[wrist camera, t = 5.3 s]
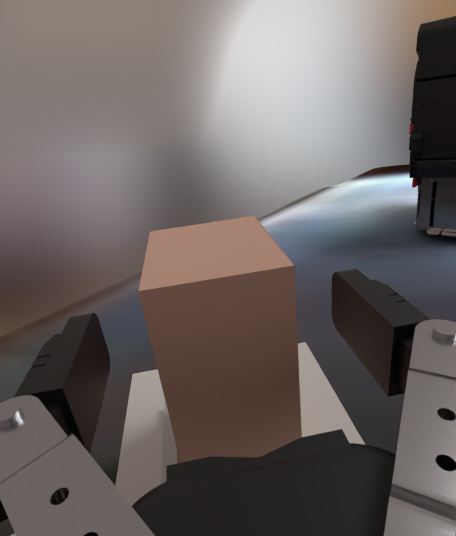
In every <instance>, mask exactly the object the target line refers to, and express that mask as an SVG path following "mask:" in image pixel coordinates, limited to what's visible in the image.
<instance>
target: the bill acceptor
mask: <svg viewBox="0 0 456 536" xmlns="http://www.w3.org/2000/svg"><path fill="white" fill-rule="evenodd" d="M416 51H417V54H418V57H419V60H418V62H417V66H416V72H415V78H414V89H413V103H412V117H411V119H410V120H411V125H410V135H411V136H410V145H409V150H411V151H410V165H409V173H410V178H413V184H412V187H416V186H418V202H417V215H416V222H415V223H414V225H416V230H427V234H429V235H439V234H440V232H442V233H441V235H442V236H453V237H456V16H454V17H450V18H446V19H441V20H437V21H433V22H429V23H424V24H421V25H420V28H419V31H418V35H417V47H416Z"/></svg>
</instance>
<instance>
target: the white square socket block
mask: <svg viewBox="0 0 456 536" xmlns="http://www.w3.org/2000/svg"><path fill="white" fill-rule="evenodd" d="M298 360H299V383H300V406H301V429H302V437H306V436H310V435H315V434H320V433H325V432H330V431H334V430H339V429H342V430H343V432H344V434H345V436H346V437H347V439H348V441H349V443H357V444H364V445H365V443H364V442H363V440H362V438H361V437H360V435H359V433H358V431H357V430H356V428H355V426H354V425H353V423H352V421H351V419H350V418H349V416H348V414H347V413H346V411H345V409H344V407H343V406H342V404H341V402H340V401H339V399H338V397H337V395H336V394H335V392H334V390H333V389H332V387H331V385H330V383H329V382H328V380H327V378H326V377H325V375H324V373H323V371H322V370H321V368H320V366H319V365H318V363H317V361H316V359H315V358H314V356H313V354H312V353H311V351H310V349H309V347H308V346H307V344H306V342H304V343H298ZM177 463H180V459H179V455H178V450H177V446H176V442H175V438H174V434H173V430H172V426H171V422H170V418H169V414H168V410H167V405H166V401H165V397H164V393H163V389H162V385H161V381H160V377H159V373H158V369H157V370H152V371H146V372H141V373H136V374H133V375H132V382H131V388H130V394H129V401H128V407H127V414H126V420H125V426H124V433H123V439H122V446H121V452H120V458H119V465H118V471H117V478H116V484H115V486H116V488H117V489H118V490H119V491H120V493H121V494H122V495H123V496H124V498H125V499H126V500H127V501H128V503H129V504H130V505H131V506H132V505H133V504H134V503H135V502H136V501H137V500H138V499H140V498H141V497H142V496H144V495H145V494H146V493H147V492H149V491H150V490H152V489H154V488H155V487H157V486H159V485H160V484H162V483H164V482H166V469H167V465H172V464H177Z"/></svg>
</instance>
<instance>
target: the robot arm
mask: <svg viewBox="0 0 456 536" xmlns="http://www.w3.org/2000/svg"><path fill="white" fill-rule="evenodd" d="M332 318H333V322H334V325H335V327H336V329H337V331H338V332H339V333H340V334H341V336H342V337H343V338H344V340H345V341H346V342H347V344H348V345H349V346H350V347H351V349H352V350H353V351H354V353H355V354H356V355H357V357H358V358H359V359H360V361H361V362H362V363H363V364H364V366H365V367H366V368H367V370H368V371H369V372H370V374H371V375H372V376H373V377H374V379H375V380H376V381H377V383H378V384H379V385H380V387H381V388H382V389H383V390H384V392H385V393H386V394H387V396H393V395H398V394H403V393H404V394H405V397H404V404H403V411H402V417H401V424H400V431H399V438H398V445H397V452H396V454H393V453H391V452H389V451H386V450H383V449H380V448H377V447H373V446H369V445H364V444H357V443H349V441H348V439H347V437H346V436H345V434H344V432H343V430H342V429H339V430H334V431H330V432H325V433H320V434H315V435H310V436H306V437H301V438H298V439H296V440H294V441H292V442H290V443H288V444H286V445H284V446H282V447H280V448H278V449H276V450H273V451H271V452H269V453H267V454H265V455H263V456H260V457H218V456H210V457H205V458H201V459H196V460H191V461H186V462H182V463H177V464H172V465H167V469H166V482H164V483H162V484H160V485H159V486H157V487H155V488H154V489H152V490H150V491H149V492H147V493H146V494H145V495H144V496H142V497H141V498H140V499H138V500H137V501H136V502H135V503H134V504H133V505H132V506H131V505H130V504H129V503H128V501H127V500H126V499H125V498H124V496H123V495H122V494H121V493H120V491H119V490H118V489H117V488H116V486H115V485H114V484H113V483H112V481H111V480H110V479H109V478H108V476H107V475H106V474H105V473H104V471H103V470H102V469H101V468H100V466H99V465H98V464H97V463H96V461H95V460H94V459H93V458H92V456H91V455H90V451H91V447H92V442H93V438H94V434H95V430H96V426H97V422H98V418H99V414H100V409H101V405H102V401H103V397H104V393H105V389H106V385H107V380H108V376H109V372H110V357H109V352H108V349H107V345H106V342H105V339H104V336H103V332H102V329H101V326H100V323H99V320H98V317H97V315H96V314H95V313H91V314H85V315H79V316H74V317H70V318H69V320H68V322H67V324H66V326H65V328H64V330H63V332H62V334H57V335H54V336H53V337H52V338H51V339H50V340H49V341H48V342H47V343H45V344H44V345H43V347H42V348H41V350H40V352H39V354H38V356H37V359H35V361H34V363H33V364H32V368H31V369H30V370H29V372H28V373H27V375H26V377H25V379H24V381H23V382H22V384H21V386H20V388H19V390H18V391H17V393H16V395H15V397H14V398H12V399H9V400H7V401H4V402H3V403H1V404H0V522H2V521H4V520H6V519H8V518H9V520H10V523H11V525H12V527H13V529H14V532H15V534H16V536H456V323H455V322H452V321H447V320H437V319H434V320H431V319H430V318H428V317H427V316H426V315H425V314H423V313H422V312H421V311H419V310H418V309H417V308H416V307H414V306H413V305H412V304H411V303H409V302H408V301H406V299H404V298H403V297H402V296H400V295H398V293H397V292H395V291H394V290H393V289H392V288H390V287H389V286H388V285H385V284H383V283H380V282H378V281H375V280H369V279H368V278H367V277H366V276H365V275H363V274H362V273H361V272H360V271H359V270H357V269H352V270H347V271H341V272H335V273H334V274H333V276H332Z"/></svg>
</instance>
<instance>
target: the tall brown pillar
mask: <svg viewBox="0 0 456 536" xmlns="http://www.w3.org/2000/svg"><path fill="white" fill-rule="evenodd" d="M139 295H140V299H141V303H142V307H143V311H144V315H145V320H146V324H147V328H148V332H149V336H150V340H151V344H152V348H153V352H154V356H155V360H156V365H157V369H158V373H159V377H160V381H161V385H162V389H163V393H164V397H165V401H166V405H167V410H168V414H169V418H170V422H171V426H172V430H173V434H174V438H175V442H176V446H177V450H178V455H179V459H180V463H182V462H186V461H191V460H196V459H201V458H205V457H210V456H218V457H260V456H263V455H265V454H267V453H269V452H271V451H273V450H276V449H278V448H280V447H282V446H284V445H286V444H288V443H290V442H292V441H294V440H296V439H298V438H301V437H302V429H301V406H300V383H299V360H298V338H297V315H296V292H295V269H294V264H293V263H292V262H291V261H290V259H289V258H288V257H287V256H286V254H285V253H284V252H283V251H282V249H281V248H280V247H279V246H278V245H277V243H276V242H275V241H274V240H273V238H272V237H271V236H270V235H269V233H268V232H267V231H266V230H265V228H264V227H263V226H262V225H261V223H260V222H259V221H258V220H257V219H256V217H255V216H251V217H243V218H237V219H230V220H224V221H218V222H210V223H204V224H198V225H191V226H184V227H178V228H171V229H164V230H159V231H151V232H150V236H149V241H148V246H147V251H146V256H145V261H144V266H143V271H142V276H141V281H140V286H139Z"/></svg>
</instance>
